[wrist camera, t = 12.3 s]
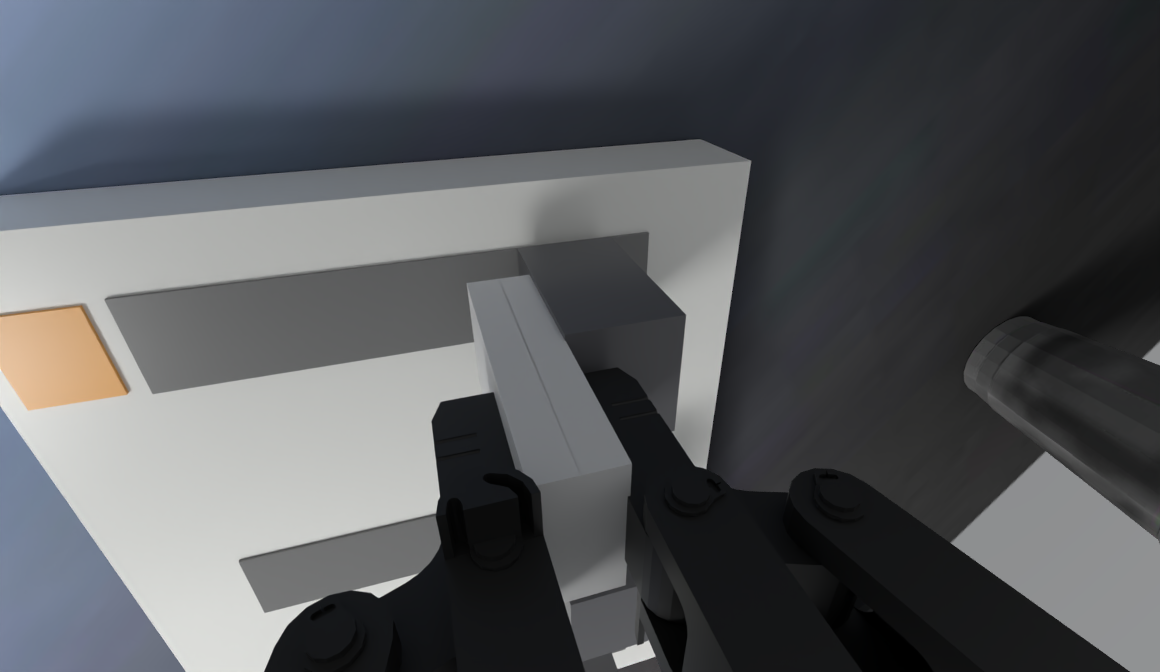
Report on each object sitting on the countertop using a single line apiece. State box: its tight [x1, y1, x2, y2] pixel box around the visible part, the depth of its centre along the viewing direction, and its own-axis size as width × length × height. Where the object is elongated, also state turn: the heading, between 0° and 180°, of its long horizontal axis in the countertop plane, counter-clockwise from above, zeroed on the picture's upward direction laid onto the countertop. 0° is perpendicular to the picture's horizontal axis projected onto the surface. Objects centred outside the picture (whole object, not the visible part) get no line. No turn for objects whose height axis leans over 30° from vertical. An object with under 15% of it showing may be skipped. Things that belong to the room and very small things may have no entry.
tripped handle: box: [517, 236, 686, 431], centre depth 13 cm, size 2×3×4 cm
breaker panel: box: [0, 139, 751, 672], centre depth 19 cm, size 19×24×8 cm
